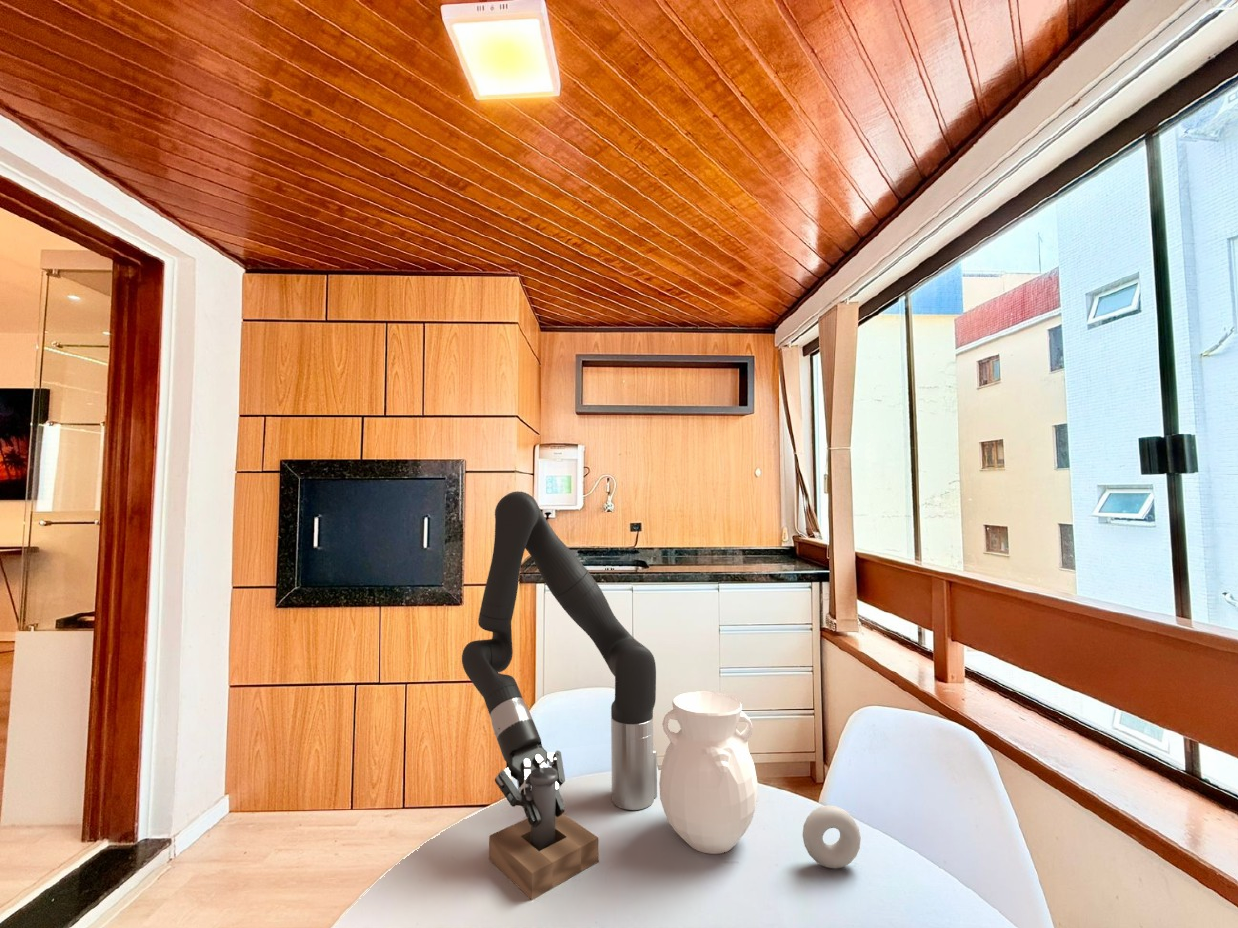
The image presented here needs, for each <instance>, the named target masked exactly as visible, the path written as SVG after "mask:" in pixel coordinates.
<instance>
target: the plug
mask: <svg viewBox="0 0 1238 928" xmlns="http://www.w3.org/2000/svg"><path fill="white" fill-rule="evenodd" d="M557 779H558V772H557V770H556V769H554V768H551V766H548V767H540V768H536V769H534V770H532V771H531V772H530V782H531V793H532V799H531V800H534V802H535V804H536V807H537V810H538V812H539V815H540V818H541V823H540V824H539V825H538V826H537V827H535V828H534V827H533V826H532V825H531V839H530V844H531V845H532V846H533V847H534V848H536V849H537V850H538V851H541V850H543V849H545V848H547V847H548V846H550V845H552V844H554V843H555V812H556V781H557Z"/></svg>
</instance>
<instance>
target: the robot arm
mask: <svg viewBox="0 0 1238 928" xmlns="http://www.w3.org/2000/svg"><path fill="white" fill-rule="evenodd" d="M494 522H495V524H494V542H493V543H494V544H493V550H492V551H493V552H492V558H491V562H490V567H489V571H488V575H487V579H486V583H485V587H484V592H483V595H482V601H481V605H480V609H479V615H478V620H477V621H478V626H479V627H480V628H481V629H482V630H484V631H486V632H491V633H492V637H491V638H490V639H479V640H473V641H469V643H468V644H466V645H465V646H464V648H463V651H462V654H461V664H462V668H463V670H464V673H465V674H466V677H468V679H469V680H470V682H471V683H472V684H473V686H474V688H475V689H476V690H477V691H478V692H479V694H480V695H481V696H482V698H483V700H484V703H485V706H486V709H487V712H488V714H489V717H490V720H491V726H492V729H493V732H494V735H495V738H496V741H497V744H498V746H499V748H500V749H499V750H500V752H501V754H502V757H503V760H504V761H505V763H506V764H505V769H501V770H500V772H499V773H498V774H497V775H496V777H495V778H494V782H495V784H496V785H497V787H498V788H499V790H500V791H501V793H502V794H503V796H504V797H505V799H506V800H507V801H508V803H509V804H510V806H511V807H514V808H515V807H516V806H517V807H519V806H520V807H522V809H523V810H524V811H523V812H524V813H525V817H526V819H528V822H529V824H530V825H532V826H533V827H534V828H535V827H537V826H538V825H539V824H540V823H541V818H540V815H539V812H538V810H537V807H536V804H535V802H534V800H531V799H532V793H531V782H530V772H531V771H532V770H534V769H536V768H540V767H551V768H554V769H556V770H557V772H558V779H557V781H556V812H555V815H556V817H559V816H561V815H562V814H565V808H566V807H565V802H564V800H563V797H562V795H561V791H560V788H561V786H562V785H563V784H564V783H565V782H566V775H565V770H564V764H563V757H562V752H561V751H560V750H558V749H557V750H556V751H555V752H547V750H546V749H545V748H544V747H543V744H542V738H541V736H540V733H539V732H538V729H537V726H536V724H535V721H534V720H533V719H534V718H533V717H532V715H531V711H530V710H529V707H528V705H527V704H526V702H525V699H524V698H523V695H522V693H521V690H520V688H519V686H518V684H517V682H516V680H515V678H514V677H513V676H511V675H509V674H504V673H501V672H505V670H507V668H508V667H509V666H510V664H511V662H512V659H513V650H514V649H513V635H512V619H513V615H514V612H515V611H514V610H515V605H516V601H517V595H518V588H519V580H520V573H521V568H522V567H521V566H522V561H523V558H524V553H525V550H526V551H527V553H528V554H529V556H530V557H531V558H532V560H533V563H534V565H535V566H536V569H537V570H538V572H539V574H540V576H541V578H542V579H543V581H544V583H545V585H546V586H547V588H548V590H549V591H550V593H551V594H552V596H553V597H554V598H555V601H557V603H559V605H560V606H561V608H562V609H563V610H564V611H565V613H566V614H567V615H568V616H569V617H570V618H571V619H572V620H573V621H574V622H575V624H576V625H577V626H579V628H581V630H583V632H584V633H586V635H587V636H588V637H589V638H590V639H591V640H592V642H593V643H594V645H595V647H596V649H597V650H598V651H599V653H600V655H601V656H602V658H603V660H604V662H605V664H606V665H607V666H608V669H609V670H610V672H611V674H612V676H613V677H614V682H615V683H614V701H613V702H612V703H611V707H610V709H611V711H610V713H611V714H610V715H611V716H610V721H611V723H610V724H611V725H610V727H611V732H610V733H611V738H610V739H611V740H610V741H611V743H610V744H611V748H610V749H611V755H610V756H611V757H610V758H611V759H610V760H611V801H612V803H613V804H614V805H615V806H616V807H618V808H620V809H623V810H626V811H627V810H629V811H639V810H643V809H647V808H648V807H650V806H651V805H653V803H654V800H655V799H656V798H657V797H658V773H657V772H658V771H657V770H658V769H657V768H658V767H657V766H658V760H657V758H658V757H657V751H656V750H655V749H654V707H655V705H656V697H657V696H656V695H657V666H656V660H655V656H654V655H653V652H651V650H650V649H649V648H648V647H646V646H645V645H644V644H642V643H641V642H640V641H639V640H637V639H635V638H634V636H632V634H631V633H630V632H629V631H628V630H627V629H626V628H625V627H624V626H623V625H622V624H621V623H620V621H619V620H618V618H617V617H616V615H615V614H614V612H613V611H612V609H611V606H610V604H609V602H608V600H607V598H606V596H605V594H604V592H603V591H602V588H601V587H600V586H599V584H598V583H597V581H596V579H594V578H593V576H592V575H591V573H590V572H589V571H588V569H587V568H586V567H585V566H584V564H583V563H582V562H581V561H580V560H579V558H578V557H577V556H576V555H575V553H574V552H572V550H570V548H569V547H568V546H567V545H566V544H565V543H564V542H563V541H562V540H561V539H560V538H559V537H558V535H557V534H556V532H555V531H554V529H553V528H552V526H551V525H550V524H549V522H548V520H547V519H546V517H545V515H544V513H543V512H542V511H541V508H540V506H539V504H538V502H537V501H536V499H535V498H534V497H533V496H532V495H531V494H529V493H526V492H524V491H518V490H517V491H512V492H510V493H507V494H506V495H504V496H503V497H501V498H500V499H499V501H498V502H497V504H496V505H495V509H494ZM547 764H548V765H547ZM512 778H513V779H514V780H516V781H517V782H516V783H517V786H516V785H515V782H513V780H512Z"/></svg>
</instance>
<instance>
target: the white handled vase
mask: <svg viewBox="0 0 1238 928" xmlns="http://www.w3.org/2000/svg"><path fill="white" fill-rule="evenodd" d="M671 704H672V708H673V709H672V710H670V711H668V712H667V713H666V714H665V715H664V717H663V720H662V728H663V731H664V734H665V735H666V737H667V738H668V740H669V742H670V743H669V744H668V746H667V747H666V750H665V754H664V756H663V759H662V762H661V767H660V773H659V781H658V782H659V783H658V785H659V799H660V802H661V807H662V808H663V809H662V810H663V812H664V815H665V818H666V820H667V821H668V823H669V824H670V825H671V828H672V829H673V830H674V831H675V833H677V835H679V837H681V838H682V839H683V841H684V842H686V843H687V844H688V845H689V846H690V847H691V848H692V849H694V850H696V851H698V852H701V853H705V854H709V855H710V854H711V855H717V854H718V855H719V854H725V853H728V852H729V851H731V850H732V849H733V848H734V847H735V845H736V844H737V843H738V842H739V841H740V840H741V838H742V837H743V836H744V834H745V833H746V831H747V830H748V828H749V826H750V825H751V823H752V821H753V818H754V814H755V811H756V807H757V803H758V790H759V789H758V787H759V785H758V779H757V778H758V777H757V773H756V772H757V771H756V767H755V763H754V760H753V758H752V755H751V753H750V751H749V744H748V741H749V739H750V738H751V736H752V734H753V723H752V721H751V719H750V717H749V716H748V715H747V714H746V713H745V712H744V711H743V710H742V709H743V705H742V703H741V702H740V700H739V699H738V698H736V697H734V696H732V695H729V694H725V693H721V692H716V691H709V690H708V691H701V690H698V691H690V692H686V693H685V692H684V693H681V694H679V695H677V696H676V697H674V698H673V700H672V703H671ZM670 720H674V721H677V723H678V724H679V728H680V729H679V730H678V732H674V731H671V730H670V729H669V727H668V726H669V722H670ZM743 722H745V724H746V726H745V729H744V730H742V731H741V732H740V731H739V730H738V729H737V728H738V725H739V723H743ZM724 852H725V853H724Z"/></svg>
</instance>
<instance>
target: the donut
mask: <svg viewBox="0 0 1238 928" xmlns="http://www.w3.org/2000/svg"><path fill="white" fill-rule="evenodd" d="M829 829H836V830H837V831H839V838H838V840H837V841H836V842H834V843H832V844H827V843H825V841H824V840H823V838H824V834H825V833H826V832H827V831H828V830H829ZM802 839H803V841H802V842H803V845H804V847H805V850H806V851H807V853H808V855H809V856H810V857H811V858H812V859H813V860H814V861H815V863H817V864H818V865H821V866H823V867H825V868H829V869H840V868H841V869H842V868H844V867H846V866H848V865H849V864H851V863H852V862H853V861H854V860H855V859H856V857H857V855H858V853H859V851H860V849H861V848H860V847H861V840H862V839H861V832H860V829H859V826H858V824H857V822H856V820H855V818H854V817H853V816H851V814H850V813H849V812H848V811H846V810H845V809H843V808H841V807H839V806H835V805H828V804H827V805H821V806H819V807H817V808H815V809H813V810H812V811H811V812H810V813H809V815H807V817H806V818H805V821H804V823H803V829H802Z"/></svg>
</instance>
